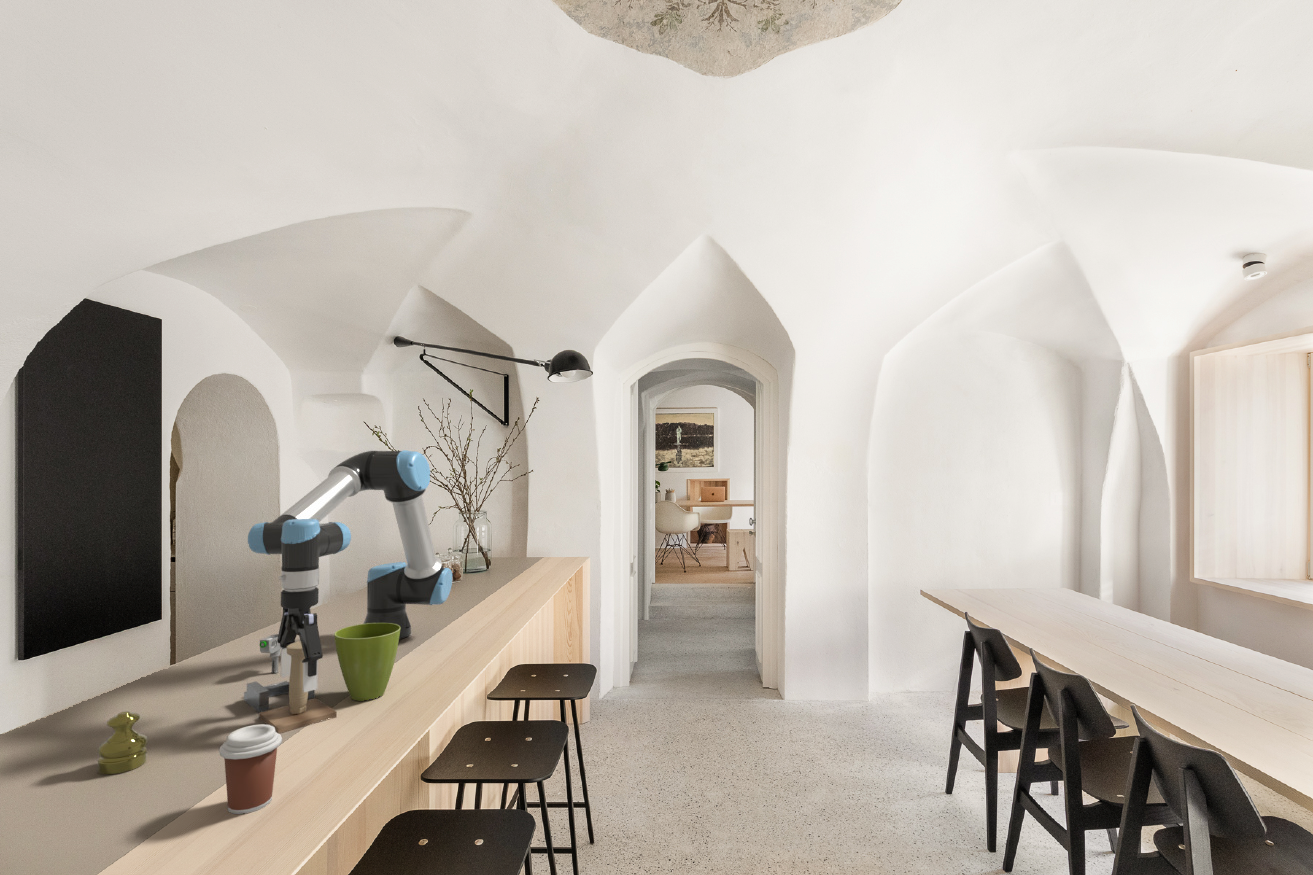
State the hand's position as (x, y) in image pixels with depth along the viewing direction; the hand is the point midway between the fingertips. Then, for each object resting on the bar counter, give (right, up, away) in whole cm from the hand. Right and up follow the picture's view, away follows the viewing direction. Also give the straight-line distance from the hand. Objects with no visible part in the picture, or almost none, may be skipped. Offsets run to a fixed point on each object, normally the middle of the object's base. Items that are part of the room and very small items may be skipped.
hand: (298, 683), depth 149 cm
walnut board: (0, -8, 0) cm, 8 cm away
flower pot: (+10, -8, +13) cm, 18 cm away
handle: (0, -7, 0) cm, 7 cm away
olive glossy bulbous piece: (-21, -7, -23) cm, 32 cm away
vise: (-11, -8, +11) cm, 18 cm away
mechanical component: (-23, -9, +30) cm, 38 cm away
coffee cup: (+12, -7, -36) cm, 39 cm away
